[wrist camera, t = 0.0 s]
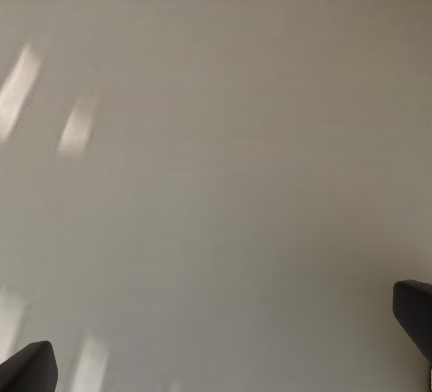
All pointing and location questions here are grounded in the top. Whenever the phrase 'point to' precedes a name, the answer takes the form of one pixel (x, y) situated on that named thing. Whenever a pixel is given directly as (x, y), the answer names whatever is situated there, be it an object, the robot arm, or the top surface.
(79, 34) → the top surface
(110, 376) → the top surface
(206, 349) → the top surface
